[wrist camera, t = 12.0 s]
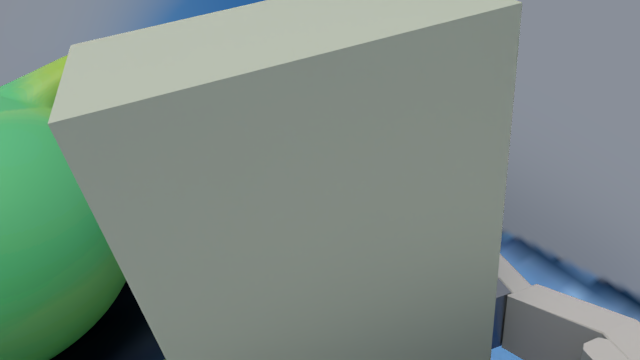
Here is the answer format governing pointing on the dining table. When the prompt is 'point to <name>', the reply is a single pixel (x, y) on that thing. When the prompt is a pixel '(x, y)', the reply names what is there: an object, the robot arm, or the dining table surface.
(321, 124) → the tall grey rectangular block
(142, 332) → the dining table surface
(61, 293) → the toy bird
